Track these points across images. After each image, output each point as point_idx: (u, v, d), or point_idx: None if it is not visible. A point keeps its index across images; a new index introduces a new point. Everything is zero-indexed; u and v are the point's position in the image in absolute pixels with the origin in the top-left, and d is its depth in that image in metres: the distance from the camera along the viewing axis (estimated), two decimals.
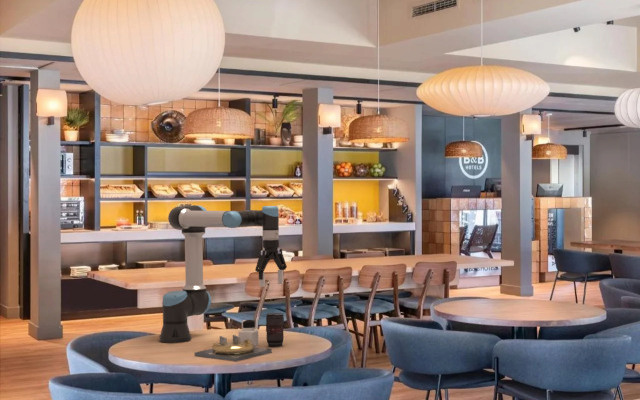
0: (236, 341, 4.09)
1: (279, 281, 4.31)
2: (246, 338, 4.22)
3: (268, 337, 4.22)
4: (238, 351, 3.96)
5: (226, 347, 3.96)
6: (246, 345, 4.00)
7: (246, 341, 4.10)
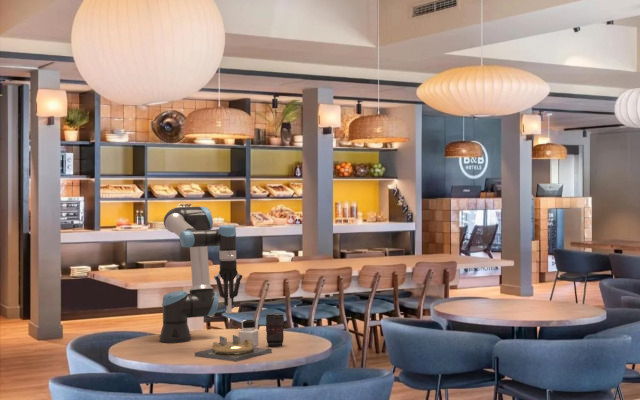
0: (236, 341, 4.09)
1: None
2: (246, 338, 4.22)
3: (268, 337, 4.22)
4: (238, 351, 3.96)
5: (226, 347, 3.96)
6: (246, 345, 4.00)
7: (246, 341, 4.10)
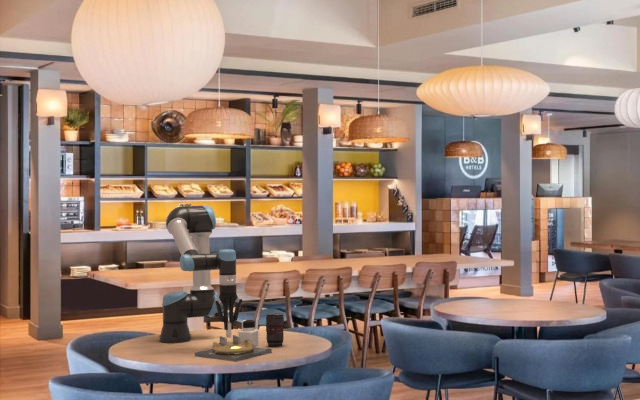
0: (236, 341, 4.09)
1: None
2: (246, 338, 4.22)
3: (268, 337, 4.22)
4: (238, 351, 3.96)
5: (226, 347, 3.96)
6: (246, 345, 4.00)
7: (246, 341, 4.10)
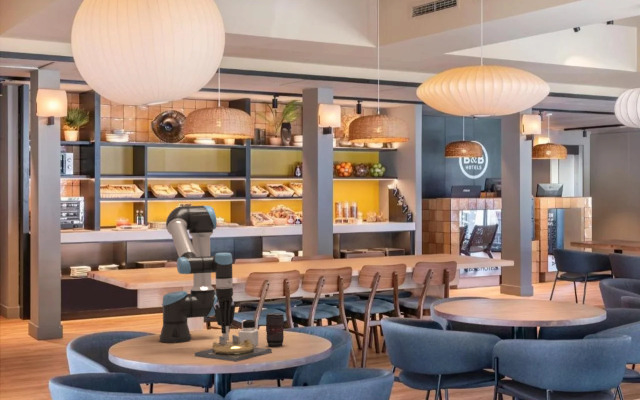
0: (236, 341, 4.09)
1: (225, 337, 4.09)
2: (246, 338, 4.22)
3: (268, 337, 4.22)
4: (238, 351, 3.96)
5: (226, 347, 3.96)
6: (246, 345, 4.00)
7: (246, 341, 4.10)
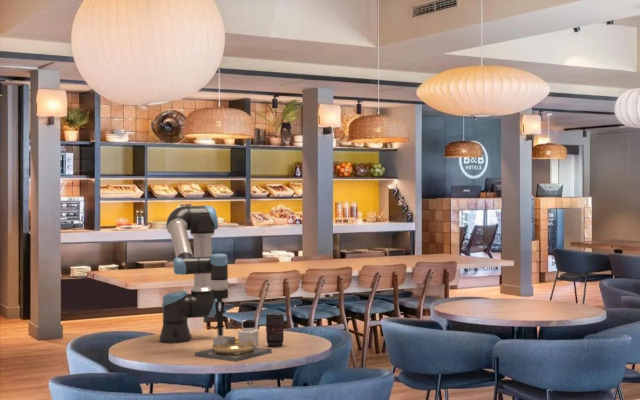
0: (229, 341, 4.08)
1: None
2: (246, 338, 4.22)
3: (268, 337, 4.22)
4: (250, 349, 4.01)
5: (241, 346, 3.97)
6: (251, 343, 4.06)
7: (236, 340, 4.12)
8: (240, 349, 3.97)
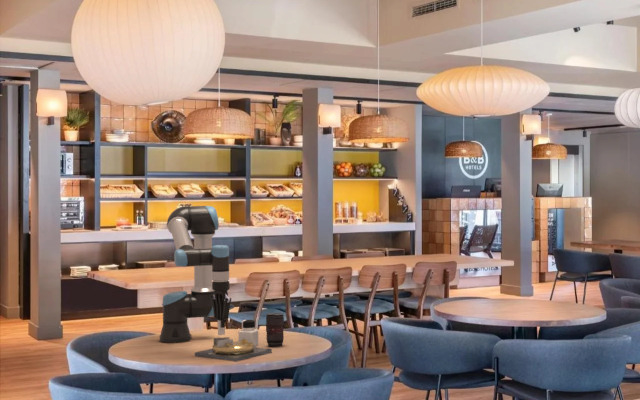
0: None
1: None
2: (246, 338, 4.22)
3: (268, 337, 4.22)
4: None
5: (251, 344, 4.02)
6: (246, 341, 4.11)
7: None
8: (251, 347, 4.02)
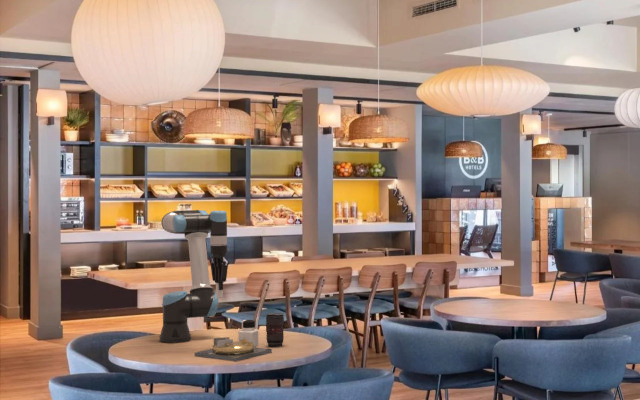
0: None
1: None
2: (246, 338, 4.22)
3: (268, 337, 4.22)
4: None
5: (251, 344, 4.02)
6: (246, 341, 4.11)
7: None
8: (251, 347, 4.02)
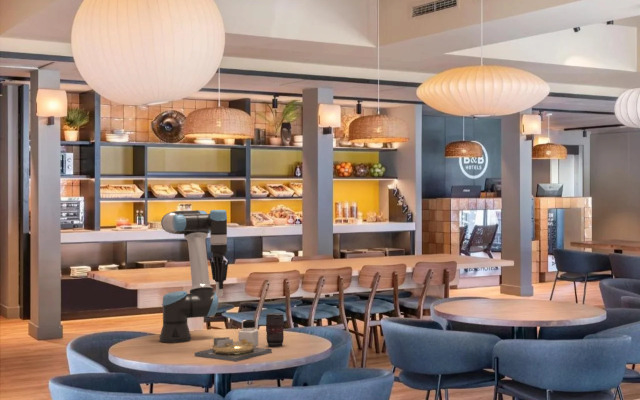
0: None
1: None
2: (246, 338, 4.22)
3: (268, 337, 4.22)
4: None
5: (251, 344, 4.02)
6: (246, 341, 4.11)
7: None
8: (251, 347, 4.02)
